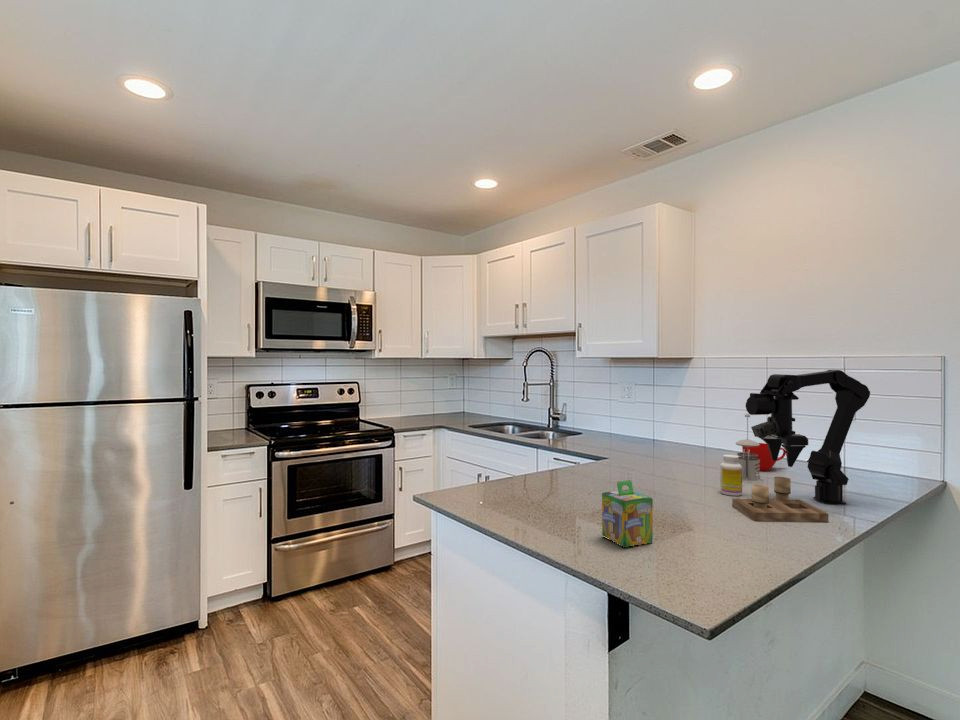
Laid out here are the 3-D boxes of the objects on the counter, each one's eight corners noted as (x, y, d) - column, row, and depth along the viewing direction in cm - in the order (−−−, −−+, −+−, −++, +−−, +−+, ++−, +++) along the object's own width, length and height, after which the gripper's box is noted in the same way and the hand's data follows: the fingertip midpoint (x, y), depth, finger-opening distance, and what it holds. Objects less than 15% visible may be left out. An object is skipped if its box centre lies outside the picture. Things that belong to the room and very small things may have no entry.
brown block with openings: (799, 507, 153) (799, 481, 153) (828, 522, 139) (828, 493, 139) (732, 506, 154) (732, 480, 154) (754, 521, 140) (754, 492, 140)
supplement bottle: (745, 496, 165) (744, 458, 165) (723, 495, 166) (723, 457, 166) (738, 491, 171) (738, 454, 171) (718, 490, 173) (717, 453, 173)
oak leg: (785, 501, 159) (785, 476, 159) (793, 505, 155) (793, 479, 155) (771, 501, 159) (771, 476, 159) (778, 505, 155) (778, 479, 155)
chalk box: (624, 549, 120) (624, 487, 120) (600, 537, 128) (600, 479, 128) (654, 543, 123) (654, 483, 123) (629, 532, 132) (629, 476, 132)
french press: (763, 479, 189) (763, 413, 189) (761, 485, 179) (761, 416, 179) (734, 476, 194) (734, 411, 194) (731, 482, 184) (730, 414, 184)
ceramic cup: (795, 472, 199) (795, 447, 199) (752, 473, 199) (752, 448, 199) (776, 466, 212) (776, 442, 212) (736, 466, 212) (736, 442, 212)
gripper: (741, 411, 167) (742, 457, 167) (770, 417, 148) (770, 470, 148) (776, 411, 166) (776, 457, 166) (809, 417, 148) (809, 470, 148)
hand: (782, 463), depth 157 cm, fingers open, 9 cm apart
